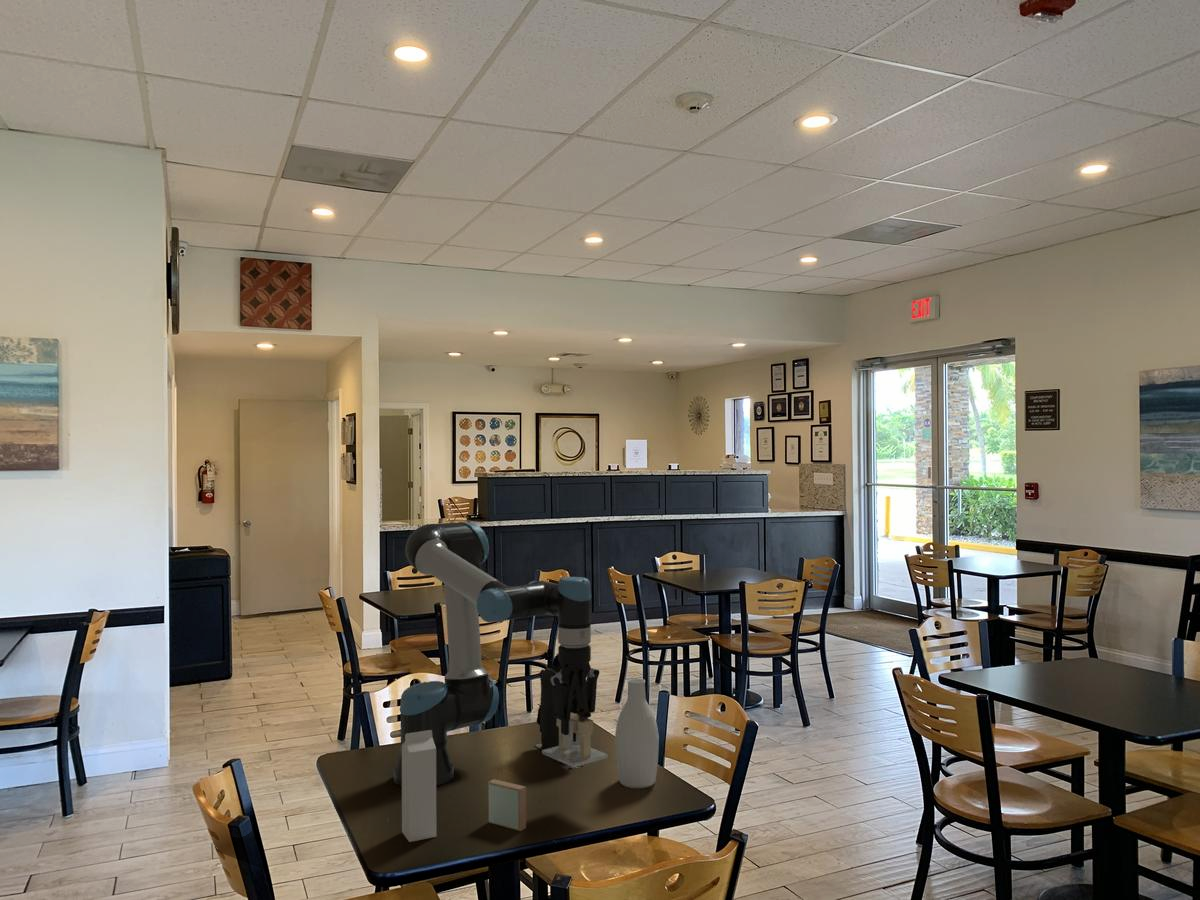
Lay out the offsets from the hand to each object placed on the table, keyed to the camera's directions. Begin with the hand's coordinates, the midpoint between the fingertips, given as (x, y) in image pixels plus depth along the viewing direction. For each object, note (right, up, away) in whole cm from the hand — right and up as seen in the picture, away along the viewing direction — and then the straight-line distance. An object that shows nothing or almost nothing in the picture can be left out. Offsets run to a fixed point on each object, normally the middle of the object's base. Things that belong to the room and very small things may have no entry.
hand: (574, 746), depth 202 cm
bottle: (+15, -15, +17) cm, 27 cm away
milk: (-33, -15, -14) cm, 39 cm away
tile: (-15, -14, -9) cm, 22 cm away
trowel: (0, -2, 0) cm, 2 cm away
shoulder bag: (-4, -16, +39) cm, 42 cm away
